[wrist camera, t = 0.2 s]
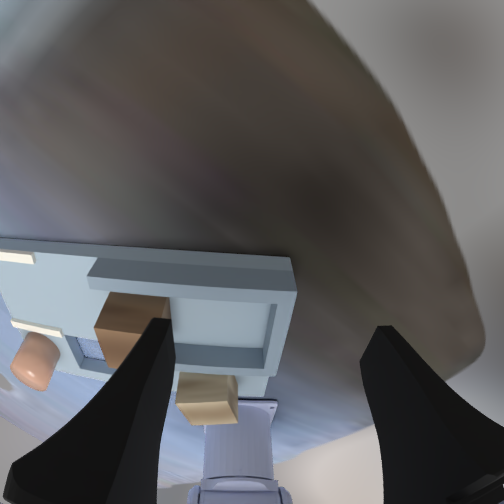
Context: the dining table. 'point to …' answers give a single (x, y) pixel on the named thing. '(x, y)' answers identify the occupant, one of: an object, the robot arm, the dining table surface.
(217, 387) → the beech block
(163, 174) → the dining table surface
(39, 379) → the peach rounded cylinder
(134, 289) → the slate board with cubby
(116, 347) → the walnut block
